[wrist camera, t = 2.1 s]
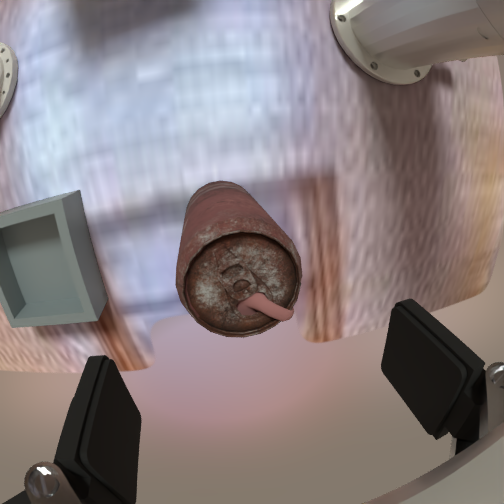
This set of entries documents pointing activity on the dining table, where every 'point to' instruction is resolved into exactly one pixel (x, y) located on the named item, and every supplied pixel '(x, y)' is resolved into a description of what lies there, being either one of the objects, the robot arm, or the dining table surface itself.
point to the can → (235, 263)
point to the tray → (49, 264)
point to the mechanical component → (7, 76)
